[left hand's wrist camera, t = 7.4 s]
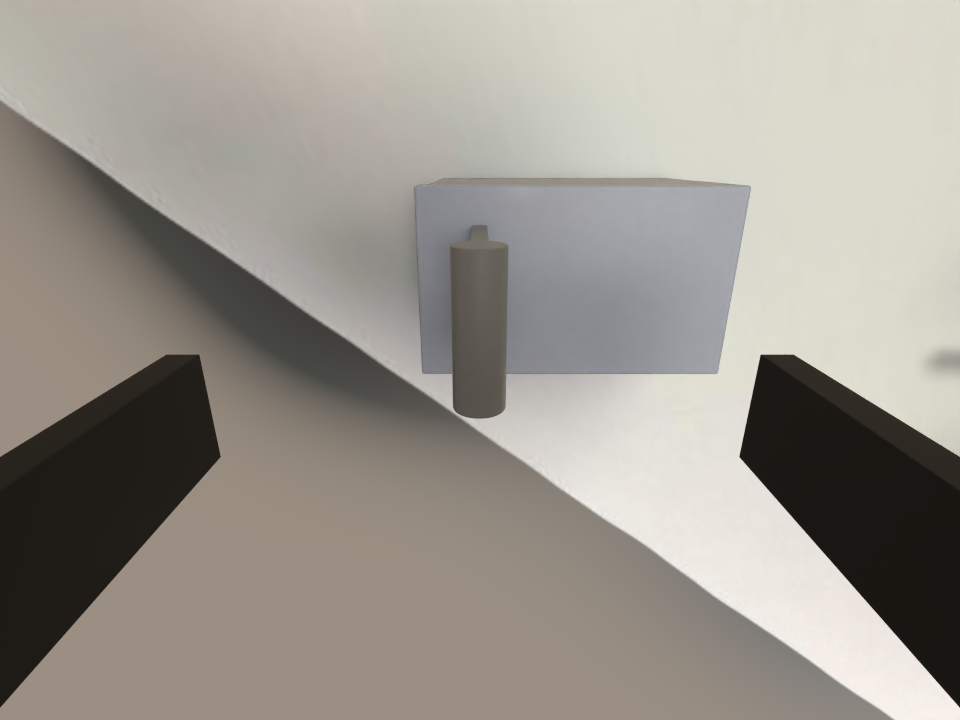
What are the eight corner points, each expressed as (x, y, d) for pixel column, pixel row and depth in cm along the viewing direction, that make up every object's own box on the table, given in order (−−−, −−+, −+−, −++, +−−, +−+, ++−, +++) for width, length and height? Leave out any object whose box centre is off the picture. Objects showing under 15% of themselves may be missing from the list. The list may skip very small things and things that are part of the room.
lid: (424, 365, 27) (399, 457, 19) (417, 184, 24) (382, 197, 15) (708, 365, 27) (810, 457, 19) (739, 184, 24) (880, 197, 15)
